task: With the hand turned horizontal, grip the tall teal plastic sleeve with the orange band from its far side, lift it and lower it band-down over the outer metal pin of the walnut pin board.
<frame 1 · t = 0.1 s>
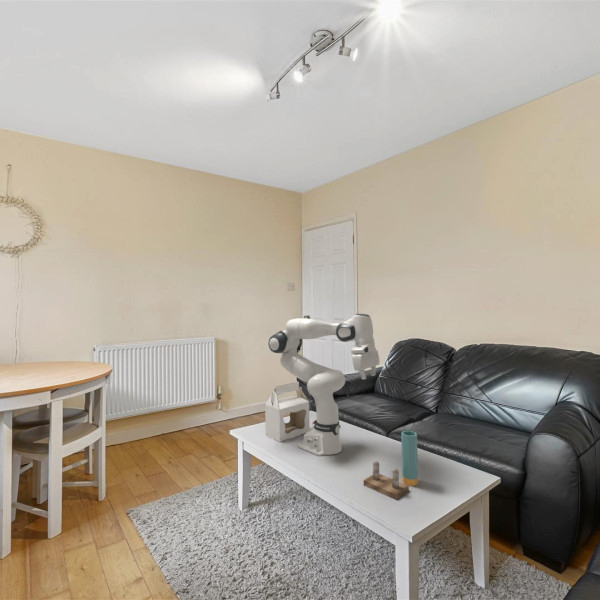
hand: (368, 377, 165), 39 cm above the table, tool pointing down, fingers open, 8 cm apart
sleeve: (409, 481, 145), on the table
pin board: (385, 487, 141), on the table
phone: (328, 429, 207), on the table
gable box: (287, 434, 200), on the table
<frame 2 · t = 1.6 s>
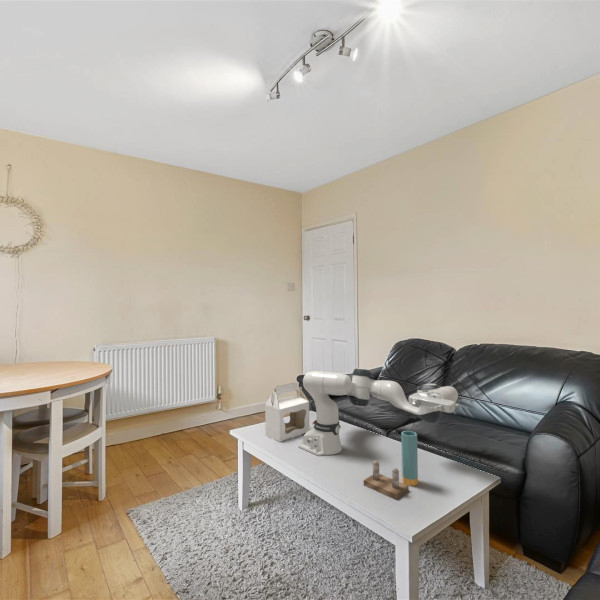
hand: (423, 407, 154), 28 cm above the table, tool horizontal, fingers open, 8 cm apart
nothing on the table moved.
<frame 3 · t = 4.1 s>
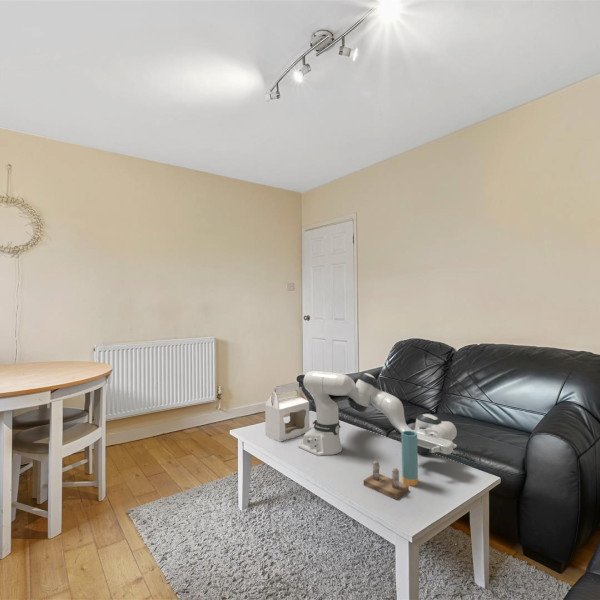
hand: (420, 447, 151), 12 cm above the table, tool horizontal, fingers open, 8 cm apart
nothing on the table moved.
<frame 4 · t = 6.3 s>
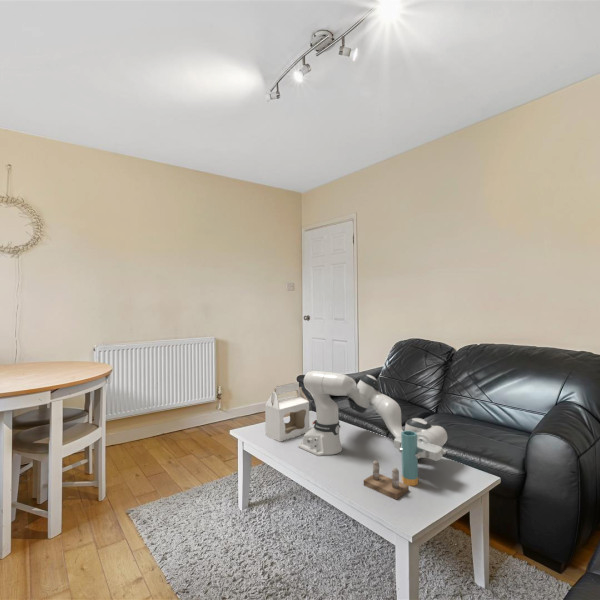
hand: (408, 453, 145), 12 cm above the table, tool horizontal, fingers closed on sleeve, 6 cm apart
sleeve: (409, 481, 145), on the table, touching gripper
everything else where it was.
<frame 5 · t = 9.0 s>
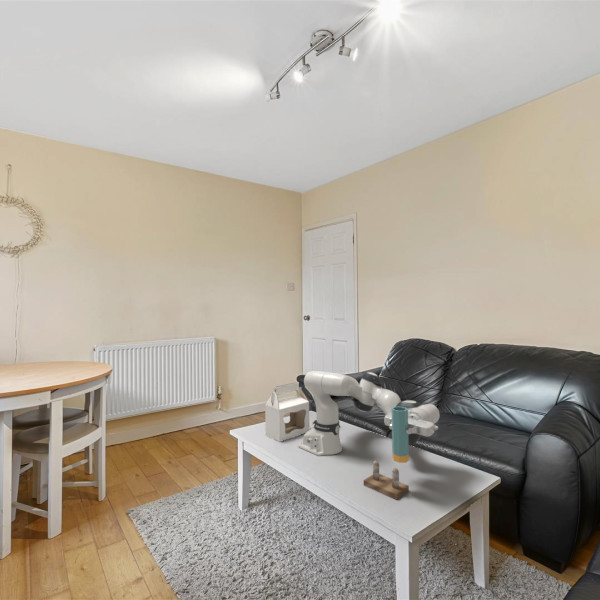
hand: (398, 429, 139), 24 cm above the table, tool horizontal, fingers closed on sleeve, 6 cm apart
sleeve: (400, 459, 140), point 12 cm above the table, touching gripper
everything else where it was.
when the fingers open (15 cm above the table, at t = 11.9 s): sleeve drops 1 cm, resting on pin board.
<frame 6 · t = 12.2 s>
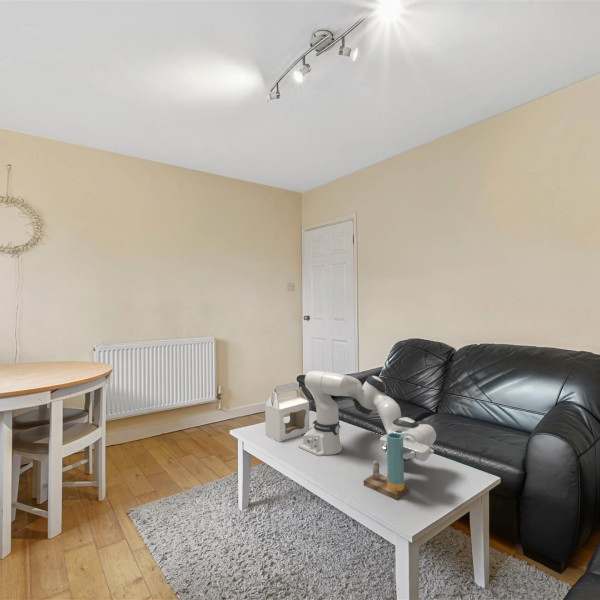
hand: (393, 453, 137), 15 cm above the table, tool horizontal, fingers open, 8 cm apart
sleeve: (395, 487, 138), point 2 cm above the table, touching pin board
everything else where it was.
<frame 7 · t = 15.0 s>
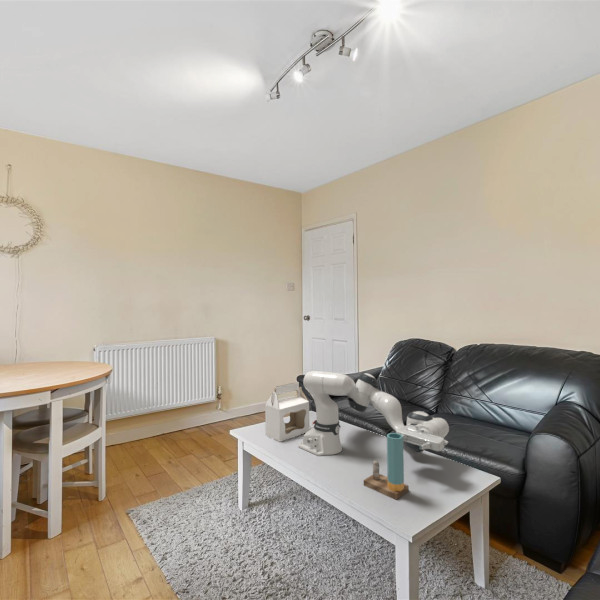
hand: (410, 444, 146), 15 cm above the table, tool horizontal, fingers open, 8 cm apart
nothing on the table moved.
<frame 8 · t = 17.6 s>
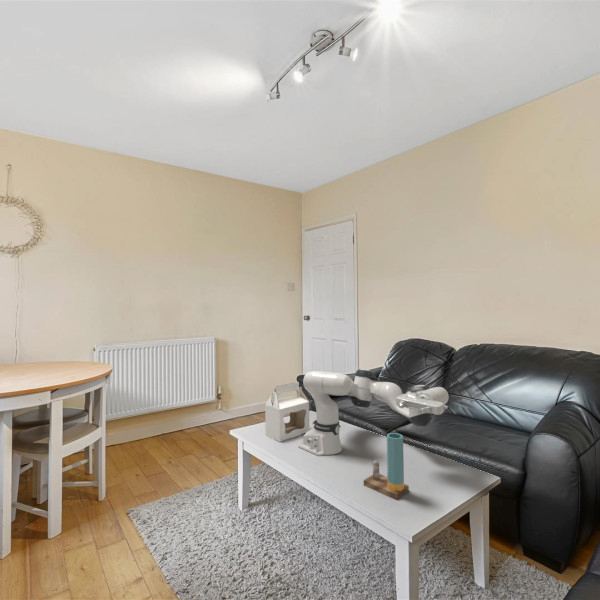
hand: (410, 408, 146), 30 cm above the table, tool horizontal, fingers open, 8 cm apart
nothing on the table moved.
at the end: sleeve 0.0 cm from the target spot on the pin board, point 2.0 cm above the pin board's base; sleeve tilted 0°; the gripper is holding nothing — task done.
